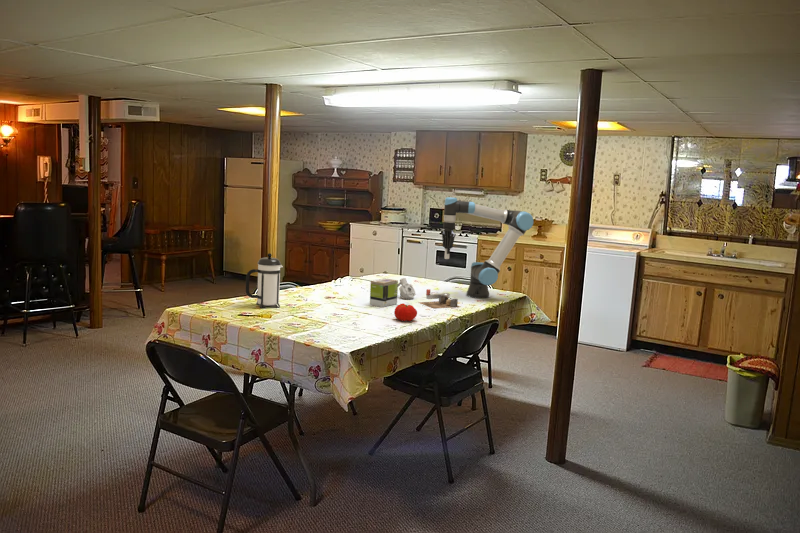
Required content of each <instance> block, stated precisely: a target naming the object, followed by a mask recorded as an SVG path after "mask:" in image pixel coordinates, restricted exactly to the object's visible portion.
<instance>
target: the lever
mask: <svg viewBox="0 0 800 533" xmlns="http://www.w3.org/2000/svg"><path fill="white" fill-rule="evenodd" d="M425 292H426V293H425V295H426V297H425V299H426V300H433V299H434V300H436V299H437V300H438V301H439V303H440V304H442V303H445V298H448V299H450V297H451V295H450V293H448V292H442V293H434V294H433V293H431V289H429V288H428V289H426V291H425Z"/></svg>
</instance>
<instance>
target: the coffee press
mask: <svg viewBox="0 0 800 533" xmlns="http://www.w3.org/2000/svg"><path fill="white" fill-rule="evenodd" d="M272 256H273V255H272V253H270V252H269V253H267V256H266V257H265V256H264V257H261V258H260V259H258V261H257V265H258V266H257V269H255V268H252V269H250V270H249V271H248V272H247V273H246V276H245V293H246V296H247V297H249V298H252V299H257V300H256V301H257V302H255V304H256V305H257V306H259V309H263V308H264V307H265V306H275V307H276V308H277V309H280V308H281V305H280V287H281V286H280V283H281V268H282V269H283V268H284V266H283V265H282V262H281V261H280V259H279V258H277V257H272ZM254 273H257V294H252V293H250V276H251V274H254Z"/></svg>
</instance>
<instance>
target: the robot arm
mask: <svg viewBox="0 0 800 533" xmlns="http://www.w3.org/2000/svg"><path fill="white" fill-rule="evenodd" d="M443 205H444V211H443V212H444V213H443V222H442V223H443V224H442V225H443V226H442V227H443V231H441V238H442V247H443V248H444V258H443V259H445V260H450V254H451V249H452V248H453V247H454V242H455V237H456V233H455V232H454V231H455V230H454V229H455V228H456V218H457V214H467V215H471V216H475V217H480V218H484V219H488V220H489V219H490V220H492V221H497V222H500V223H501V224H502V225H503V224H504V225H507V227H508V230H506V233H505V234H504V236H503V237H502V238H501V240H500V242H499V243H498V245H497V246H496V248H495V249H494V251H493V252H492V254H491V256H490V257H489V259H486V260H484V262H478V261H475V262H474V261H473V262H471V266H470V279H469V286H468V288H467V291H466V296H467V297H469V296H470V298H475V297H476V298H477V299H486V298H487V299H489V297H490V292H489V287H488V286H491V285H494V284H496V282H497V281H498V279H499V278H498V277H499V274H500V272H501V266H502V264H503V262H504V261H505V260H506V259H507V257H508V255H509V254H510V252H511V251H512V250H513V248H514V246H515V244H516V243H517V242H518V240H519V239H520V237H522V236H524V235H525V233H526V232H527V231H529V230H530V229H532V228H533V226H534V217H533V215H532V214H531V213H530V212H528V211H523V210H522V211H521V210H511V209H506V208H505V209H501V208H500V209H499V208H494V207H490V206H486V205H481V204H477V203H475V201H468V200H467V201H466V200H461V199H458V198H457V197H452V196H451V197H450V196H449V197H445V199H444V204H443ZM476 298H475V299H476Z"/></svg>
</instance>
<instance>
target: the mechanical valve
mask: <svg viewBox="0 0 800 533" xmlns="http://www.w3.org/2000/svg"><path fill="white" fill-rule="evenodd" d="M398 287H399V288H398V291H399V295H400V297H401V298H402V299H406V300H411V299H413V298H414V297H415V296H416V290H415V288H414V286H413V285H412V283H410V284H409V283H408V281H407V278H406V277H402V278H401V279H399V282H398Z"/></svg>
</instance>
